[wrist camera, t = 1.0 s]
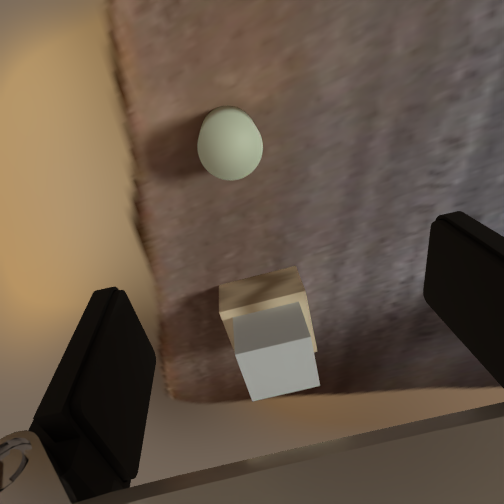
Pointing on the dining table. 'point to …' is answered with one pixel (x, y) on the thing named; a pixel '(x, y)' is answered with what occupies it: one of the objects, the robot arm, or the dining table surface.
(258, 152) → the sage cylinder
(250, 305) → the tower base
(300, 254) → the dining table surface
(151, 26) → the dining table surface
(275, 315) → the tower top
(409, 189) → the dining table surface
